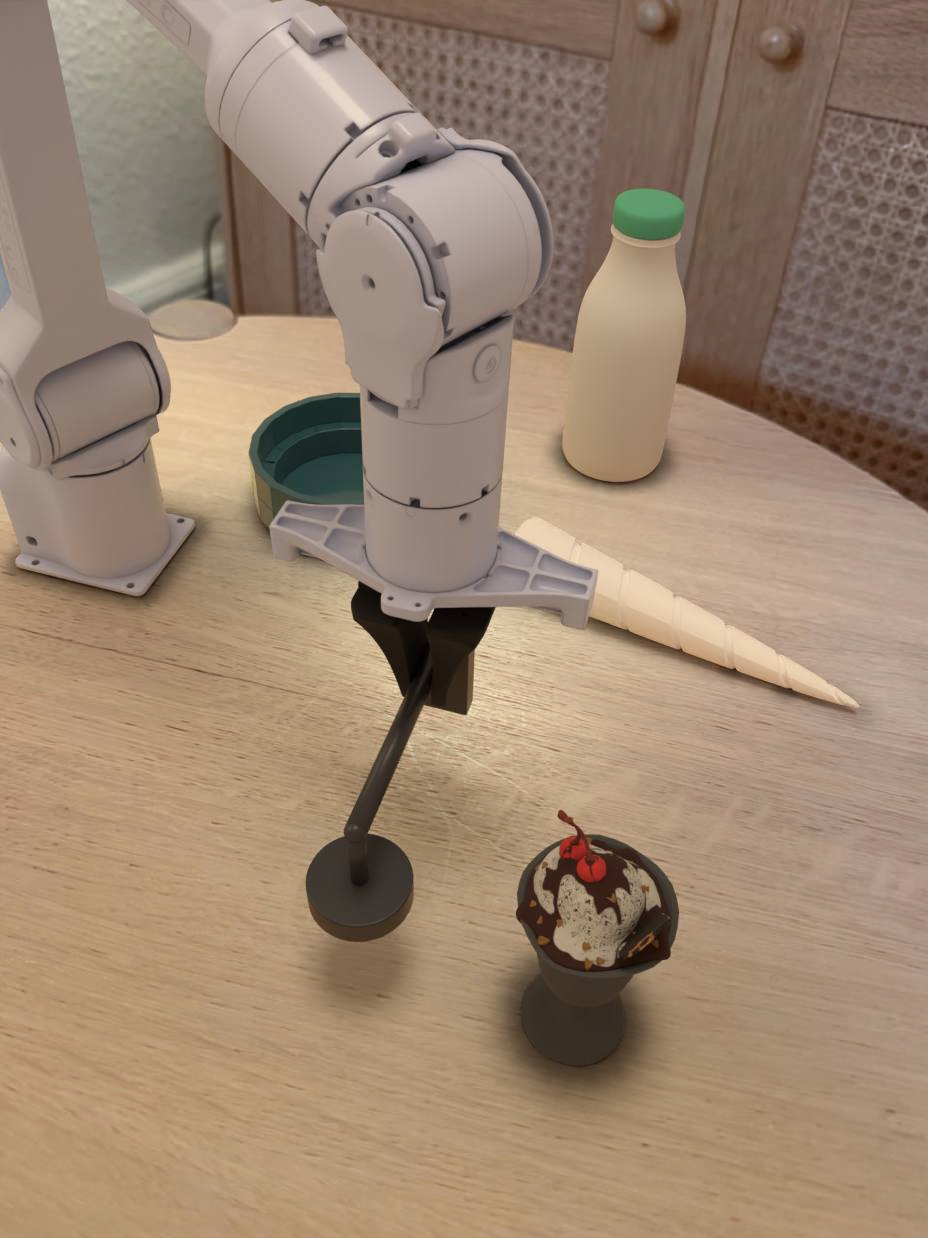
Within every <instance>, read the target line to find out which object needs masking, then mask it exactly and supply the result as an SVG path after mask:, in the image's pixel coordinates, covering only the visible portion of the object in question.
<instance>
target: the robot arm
mask: <svg viewBox="0 0 928 1238" xmlns="http://www.w3.org/2000/svg"><path fill="white" fill-rule="evenodd" d="M126 1H127V3H129V4H130V5H131V6H132V7H133V8H134V9H135V10H136V11H137V12H138V13H139V14H140V15H142V17H144V18H145V19H146V20H147V21H148V22H149V23H150V24H151V25H152V26H153V27H154V28H155V29H156V30H157V31H158V32H160V33H161V34H162V35H163V36H164V37H165V38H166V39H167V40H169V42H170V43H172V44H173V45H174V47H176V48H177V49H178V51H180V52H181V53H182V54H184V55H185V57H187V58H188V59H189V60H190V61H191V62H192V63H193V64H194V65H195V66H196V67H197V68H199V70H201V71H202V72H203V73H204V74H205V75H206V80H205V81H206V82H205V88H204V89H205V90H204V108H205V114H206V118H207V121H208V123H209V125H210V126H211V128H212V130H213V131H214V132H215V133H216V135H217V136H218V137H219V138H220V139H221V140H222V142H223V143H225V145H226V146H227V147H228V148H229V149H230V150H231V152H233V154H234V155H235V156H236V157H237V158H238V159H239V160H240V162H241V163H242V164H244V166H245V167H246V168H247V169H248V170H249V171H250V172H251V174H252V175H254V177H255V178H256V179H257V180H258V181H259V182H260V183H261V184H262V186H264V188H265V189H266V190H267V191H268V192H269V194H270V195H272V197H273V198H274V199H275V200H276V201H277V202H278V204H279V205H280V206H281V207H282V208H283V209H284V210H285V211H286V212H287V213H288V214H289V216H290V217H291V218H292V219H293V220H294V221H295V222H296V223H297V224H298V225H299V226H300V227H301V229H302V230H303V232H305V233H306V235H307V236H309V238H310V239H311V240H312V241H313V242H314V244H316V246H317V247H318V249H316V250H315V255H316V263H317V269H318V274H319V278H320V281H321V285H322V288H323V291H324V293H325V296H326V298H327V301H328V304H329V305H330V307H331V310H332V311H333V313H334V315H335V317H336V319H337V321H338V323H339V326H340V329H341V332H342V338H343V344H344V362H345V363H344V364H345V365H346V366H348V368H349V369H350V375H351V378H352V380H353V381H354V382H355V383H357V384H358V385H359V393H360V406H361V431H362V457H363V486H364V505H315V504H306V503H299V502H293V501H288V500H287V501H286V502H285V504H284V505H283V507H282V508H281V509H280V511H279V512H278V514H277V515H276V517H275V518H274V520H273V521H272V523H271V524H270V526H269V528H270V529H269V528H268V529H269V534H270V544H271V552H272V558H274V559H276V560H277V559H278V560H280V561H281V560H282V561H286V562H290V563H291V562H295V561H296V560H298V559H299V557H300V555H303V556H308V557H312V558H316V559H319V560H321V561H323V562H325V563H327V564H329V565H330V566H332V567H334V568H335V569H336V570H339V571H341V572H342V573H344V574H346V575H348V576H349V577H352V578H353V579H355V580H356V581H357V588H356V590H355V592H354V594H353V596H352V597H351V600H350V612H351V615H352V619H353V621H354V622H355V623H356V624H358V625H359V626H360V627H361V628H363V630H364V631H365V632H366V633H367V634H368V635H369V636H370V637H371V638H372V640H374V642H375V643H376V644H377V646H378V647H379V649H380V650H381V652H382V654H383V655H384V657H385V659H386V661H387V663H388V665H389V666H390V669H391V670H392V673H393V675H394V678H395V681H396V683H397V686H398V689H399V692H400V694H401V697H403V698H404V697H405V694H406V692H407V690H408V688H409V686H410V684H411V681H412V679H413V677H414V675H415V673H416V671H417V668H418V666H419V664H420V662H421V660H422V657H423V655H424V653H425V651H426V649H427V647H428V644H429V645H430V650H431V656H432V665H433V672H432V682H431V694H430V695H431V702H432V704H433V705H437V706H441V707H445V706H446V705H447V703H448V701H449V698H450V696H451V693H452V691H453V689H454V686H455V684H456V681H457V677H458V672H459V668H460V666H461V664H462V663H463V661H464V660H465V659H466V658H467V657H468V655H469V654H470V653H471V652H472V651H474V650H475V651H476V649H477V647H478V646H479V644H480V643H481V641H482V639H483V638H484V636H485V635H486V632H487V630H488V627H489V626H490V623H491V621H492V618H493V615H494V613H495V610H496V608H516V607H517V608H518V607H519V608H521V607H522V608H525V607H527V608H531V609H535V610H540V611H542V612H548V613H552V614H556V615H561V616H560V623H561V625H562V626H564V627H566V628H570V629H575V630H580V631H585V630H586V627H587V623H588V620H589V619H590V618H589V617H590V616H589V615H590V611H591V608H592V605H593V602H594V596H595V590H596V583H597V577H598V570H597V569H593V568H589V567H585V566H581V565H578V564H575V563H573V562H570V561H567V560H565V559H563V558H561V557H558V556H556V555H554V554H552V553H550V552H548V551H546V550H544V549H542V548H540V547H538V546H536V545H534V544H532V543H530V542H528V541H526V540H524V539H522V538H520V537H518V536H516V535H515V533H512V532H510V531H508V530H507V529H504V528H502V527H500V514H501V513H500V512H501V499H502V486H503V485H502V484H503V474H504V473H503V471H504V462H505V461H504V459H505V445H506V433H507V418H508V406H509V394H510V393H509V392H510V378H511V366H512V352H513V340H514V339H513V338H514V336H513V335H514V324H515V315H514V314H509V312H511V311H512V310H514V309H516V308H518V307H519V306H520V305H522V304H523V303H524V302H525V301H526V300H528V299H530V298H532V297H533V296H535V295H536V293H538V292H539V291H540V289H541V288H542V287H543V285H544V284H545V282H546V280H547V278H548V276H549V275H550V271H551V268H552V264H553V258H554V245H555V244H554V242H555V241H554V231H553V225H552V220H551V215H550V212H549V209H548V206H547V203H546V201H545V198H544V196H543V194H542V192H541V190H540V188H539V187H538V185H537V183H536V182H535V180H534V179H533V177H532V176H531V174H530V173H529V172H528V171H527V170H526V169H525V167H524V166H523V164H522V163H521V160H520V159H519V157H518V156H517V154H516V153H515V152H514V151H513V150H512V149H510V148H509V147H506V146H505V145H503V144H501V143H499V142H496V141H493V140H490V139H481V138H480V139H479V138H478V139H467V138H465V137H463V136H461V134H458V132H457V131H455V129H454V128H452V127H449V128H445V127H439V128H436V127H435V126H434V125H433V124H432V123H431V122H430V121H429V119H428V118H426V117H425V116H424V115H423V113H422V112H421V111H420V110H419V109H418V108H417V107H416V106H415V105H414V104H413V103H412V102H411V101H410V100H409V99H408V97H406V96H405V94H403V92H401V90H400V89H399V88H398V87H397V86H396V85H395V84H394V83H393V82H392V80H390V79H389V78H388V76H387V75H386V74H385V73H384V72H383V70H381V69H380V68H379V66H378V65H376V63H374V62H373V60H371V59H370V57H369V56H368V55H367V54H366V53H365V51H363V50H362V49H361V48H360V47H359V46H358V45H357V44H356V43H355V42H354V40H352V38H351V37H350V36H349V35H348V33H349V30H348V29H349V28H348V26H347V25H346V24H345V23H344V22H343V21H342V20H341V18H339V16H337V14H336V13H334V11H333V10H332V9H331V8H330V7H329V6H327V5H320V6H319V5H318V4H316V3H315V2H312V1H309V0H278V1H274V2H272V1H271V0H126ZM48 2H49V1H48V0H0V258H1V261H2V262H1V263H2V265H3V269H4V273H5V276H6V280H7V283H8V287H9V291H10V296H9V298H8V300H7V301H6V303H5V304H4V305H3V306H2V308H1V309H0V444H1V449H0V494H1V497H2V499H3V502H4V505H5V509H6V511H7V514H8V517H9V520H10V523H11V526H12V529H13V531H14V534H15V537H16V541H17V543H18V546H19V549H20V553H19V554H18V556H17V557H16V558H15V559H14V563H15V566H16V567H17V568H18V569H22V570H27V571H31V572H35V573H39V574H42V575H47V576H51V577H55V578H59V579H64V580H67V581H71V582H76V583H79V584H84V585H88V586H92V587H96V588H100V589H105V590H107V591H108V590H109V591H113V592H117V593H121V594H125V595H129V596H133V597H141V596H143V595H145V594H146V592H147V591H148V590H149V588H150V587H151V586H152V584H153V583H155V580H156V579H157V578H158V577H159V575H160V574H161V573H162V572H163V570H164V569H165V568H166V566H167V565H168V564H169V562H170V561H171V559H172V558H173V557H174V555H175V554H176V553H177V552H178V550H179V549H180V548H181V546H182V545H183V544H184V542H185V541H186V539H187V538H188V537H189V535H190V534H191V533H192V531H193V530H194V529H195V527H196V523H195V520H194V519H193V518H190V517H186V516H181V515H177V514H173V513H168V512H166V511H167V510H166V506H165V502H164V497H163V491H162V487H161V481H160V477H159V472H158V468H157V463H156V458H155V454H154V448H153V444H152V440H151V438H152V437H154V436H155V435H156V434H158V433H159V432H160V431H161V430H160V426H159V420H158V415H161V414H163V413H165V412H167V410H168V408H169V406H170V404H171V396H172V395H171V393H172V382H171V381H172V380H171V376H170V372H169V368H168V365H167V364H166V361H165V359H164V357H163V355H162V353H161V351H160V348H159V347H158V344H157V342H156V339H155V335H154V331H153V328H152V323H151V320H150V317H148V316H147V314H146V313H145V312H144V311H143V310H142V309H141V308H140V307H139V306H138V305H136V303H134V302H133V301H132V300H130V299H129V298H128V297H126V296H125V295H122V294H121V293H119V292H117V291H115V290H112V289H110V288H107V287H106V284H105V278H104V274H103V268H102V264H101V259H100V253H99V249H98V244H97V239H96V234H95V229H94V225H93V220H92V215H91V209H90V205H89V199H88V194H87V190H86V185H85V180H84V176H83V175H84V174H83V170H82V165H81V160H80V156H79V151H78V145H77V140H76V137H75V130H74V127H73V126H74V125H73V122H72V116H71V111H70V106H69V102H68V96H67V92H66V87H65V82H64V76H63V71H62V67H61V63H60V57H59V52H58V47H57V43H56V37H55V32H54V27H53V23H52V18H51V12H50V9H49V3H48Z"/></svg>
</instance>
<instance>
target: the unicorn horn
mask: <svg viewBox="0 0 928 1238" xmlns="http://www.w3.org/2000/svg"><path fill="white" fill-rule="evenodd" d="M514 535H516V536H518V537H520V538H522V539H524V540H526V541H528V542H530V543H532V544H534V545H536V546H538V547H540V548H542V549H544V550H546V551H548V552H550V553H552V554H554V555H556V556H558V557H561V558H563V559H565V560H567V561H570V562H573V563H575V564H578V565H581V566H585V567H589V568H593V569H597V570H598V577H597V583H596V590H595V596H594V602H593V605H592V608H591V611H590V615H589V617H590V618H592V619H594V620H598V621H601V622H603V623H606V624H609V625H611V626H614V627H617V628H620V629H621V630H625V631H627V630H628V631H629V632H631V633H633V634H635V635H638V636H640V637H643V638H646V639H648V640H651V641H654V642H656V643H659V644H662V645H664V646H667V647H670V648H673V649H675V650H681V649H682V652H684V653H686V654H688V655H691V656H694V657H697V658H699V659H702V660H705V661H707V662H710V663H713V664H716V665H718V666H722V667H724V668H727V669H729V670H734V669H735V670H737V672H739V673H741V674H743V675H747V676H750V677H752V678H756V679H759V680H762V681H765V682H768V683H770V684H773V685H777V686H779V687H781V688H785V689H792V690H793V691H795V692H797V693H800V694H803V695H806V696H808V697H809V696H810V697H813V698H816V699H819V700H822V701H826V702H829V703H833V704H837V705H841V706H847V707H851V708H860V707H861V706H860V705H859V703H858V702H857V701H856V700H855V699H854V698H852V697H851V696H849V695H848V694H846V693H845V692H844V691H842V690H840V689H839V688H837V687H836V686H835V685H833V684H831V683H828V682H827V681H826V680H825V679H823V677H821V676H819V675H817V674H815V673H814V672H812V671H811V670H809V669H807V668H806V667H804V666H802V665H800V664H798V663H797V662H796V661H794V660H792V659H790V658H788V657H787V656H785V655H784V654H780V653H777V652H776V650H775V649H773V648H772V647H770V646H768V645H767V644H765V643H763V642H761V641H760V640H759V639H756V638H754V637H753V636H751V635H749V634H747V633H746V632H744V631H743V630H740V629H739V628H737V627H736V626H734V625H731V624H726V623H725V621H724V620H723V619H721V618H719V617H718V616H716V615H714V614H712V613H711V612H709V611H707V610H705V609H704V608H702V607H700V606H698V605H697V604H695V603H694V602H692V601H689V599H686V598H684V597H682V596H681V595H676V596H675V597H674V593H673V591H671V590H670V589H668V588H667V587H665V586H664V585H661V584H659V583H658V582H656V581H654V580H652V579H650V578H649V577H647V576H645V575H643V574H641V573H640V572H638V571H636V570H634V569H632V568H628V569H627V570H626V569H624V564H623V563H621V562H620V561H617V560H616V559H615V558H612V557H611V556H610V555H607V554H605V553H604V552H601V551H600V550H598V549H597V548H595V547H593V546H591V545H589V544H587V543H585V542H583V541H582V542H581V544H579V542H576V540H577V538H576V537H574V536H573V535H571V534H570V533H567V532H566V531H564V530H563V529H560V528H558V527H557V526H555V525H553V524H551V523H550V522H548V521H547V520H545V519H542V518H541V517H538V516H531V517H528V519H525V520H524V521H523V522H522V523H521V525H520V526H519V527H518V528H517V530H516V531H515V533H514Z"/></svg>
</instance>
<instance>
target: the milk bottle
mask: <svg viewBox="0 0 928 1238" xmlns="http://www.w3.org/2000/svg"><path fill="white" fill-rule="evenodd" d="M685 214H686V206H685V203H684V202H683V201H682V199H680V198H679V197H678V196H677V195H675V194H673V193H671V192H668V191H664V190H660V189H655V188H634V189H629V190H626V191H624V192H621V193H620V194H619V195H617V196H616V198H615V201H614V203H613V209H612V217H611V221H612V224H611V227H610V232H611V235H612V237H613V238H612V242H611V245H610V248H609V250H608V253H607V255H606V256H605V259H604V261H603V263H602V265H601V266H600V268H599V269H598V271H597V272H596V274H595V275H594V277H593V279H592V280H591V282H590V283H589V285H588V286H587V289H586V291H585V294H584V296H583V298H582V301H581V303H580V307H579V312H578V316H577V321H576V328H575V334H574V339H573V347H572V354H571V363H570V364H571V365H570V370H569V379H568V386H567V387H568V388H567V396H566V405H565V414H564V423H563V432H562V440H561V441H562V445H561V448H562V453H563V455H564V458H565V459H566V461H567V462H568V463H569V465H571V467H572V468H573V469H575V470H576V471H578V472H579V473H581V474H583V475H585V476H587V477H588V478H589V477H590V478H593V479H594V480H595V479H596V480H600V481H604V482H613V483H621V482H624V483H625V482H631V481H636V480H638V479H642V478H644V477H646V476H648V475H649V474H651V473H652V472H653V471H654V470H655V469H656V467H657V466H658V465H659V463H660V462H661V460H662V456H663V451H664V448H665V443H666V437H667V432H668V428H669V422H670V418H671V412H672V408H673V407H672V406H673V402H674V398H675V397H674V396H675V391H676V386H677V381H678V376H679V371H680V365H681V360H682V354H683V348H684V343H685V342H684V341H685V334H686V327H687V326H686V325H687V324H686V323H687V306H686V300H685V296H684V290H683V287H682V283H681V280H680V276H679V273H678V268H677V262H676V261H677V260H676V244H677V243H678V242H679V241H680V240H681V236H682V234H681V231H682V229H683V226H684V225H683V224H684V221H685Z"/></svg>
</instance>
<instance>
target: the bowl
mask: <svg viewBox="0 0 928 1238" xmlns="http://www.w3.org/2000/svg"><path fill="white" fill-rule="evenodd" d="M248 459H249V460H248V462H249V467H250V475H251V483H252V489H253V497H254V503H255V507H256V509H257V513H258V516H259V518H260V520H261V522H262V523H263V525H265V526H266V527H267V528H268V530H270V528H269V526H270V524H271V523H272V521H273V520H274V518H275V517H276V515H277V514H278V512H279V511H280V509H281V508H282V507H283V505H284V504H285V502H286V501H287V500H288V501H293V502H299V503H306V504H315V505H364V486H363V457H362V431H361V406H360V392H331V393H326V394H319V395H313V396H308V397H305V398H302V399H299V400H297V401H294V402H291V403H288V404H285V405H284V406H282V407H280V408H279V409H277V410H276V411H274V412H273V413H272V414H270V415H268V416H266V417H265V418H264V419H263V420H262V422H261V423H260V424H259V426H258V427H257V428H256V430H255V431H254V432H253V433H252V434H251V439H250V444H249V447H248Z"/></svg>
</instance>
